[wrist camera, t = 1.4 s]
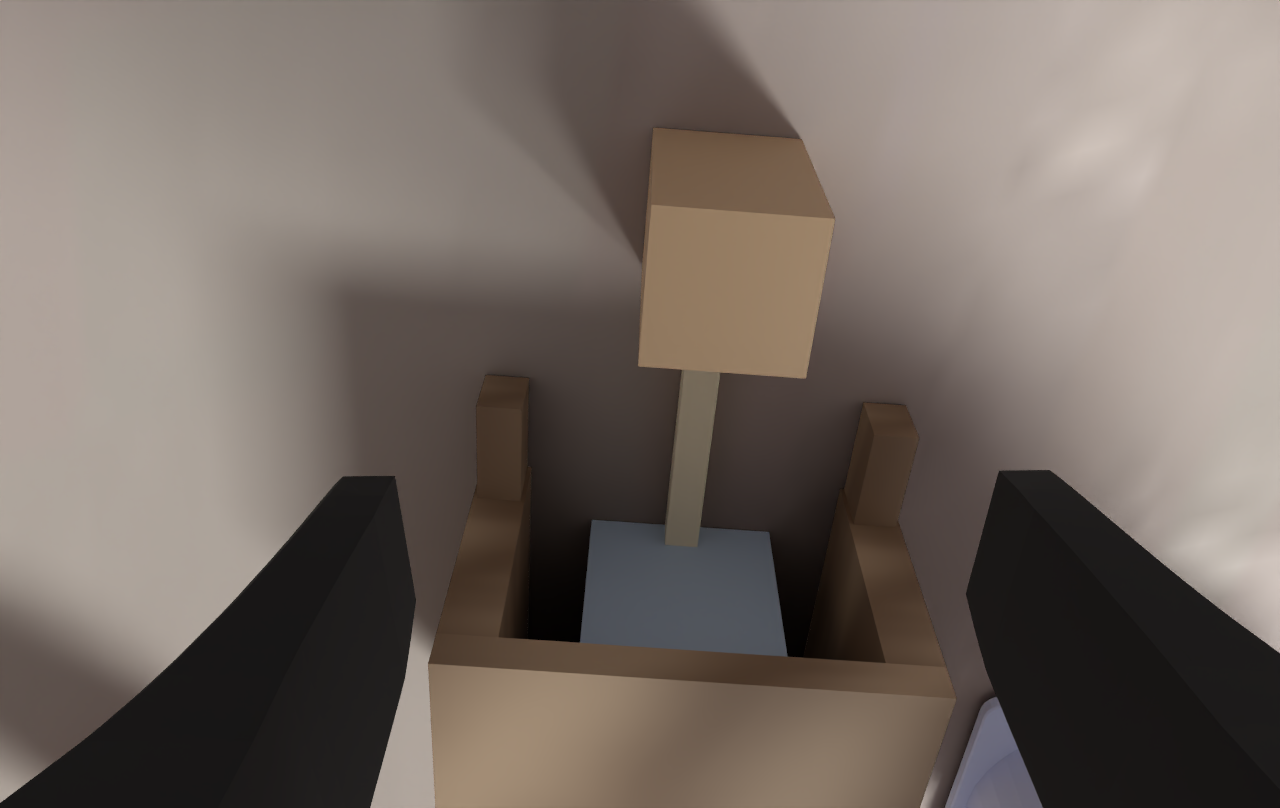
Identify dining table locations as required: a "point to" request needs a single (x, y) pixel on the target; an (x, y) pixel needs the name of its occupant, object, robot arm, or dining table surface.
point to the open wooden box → (687, 667)
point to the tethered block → (712, 381)
